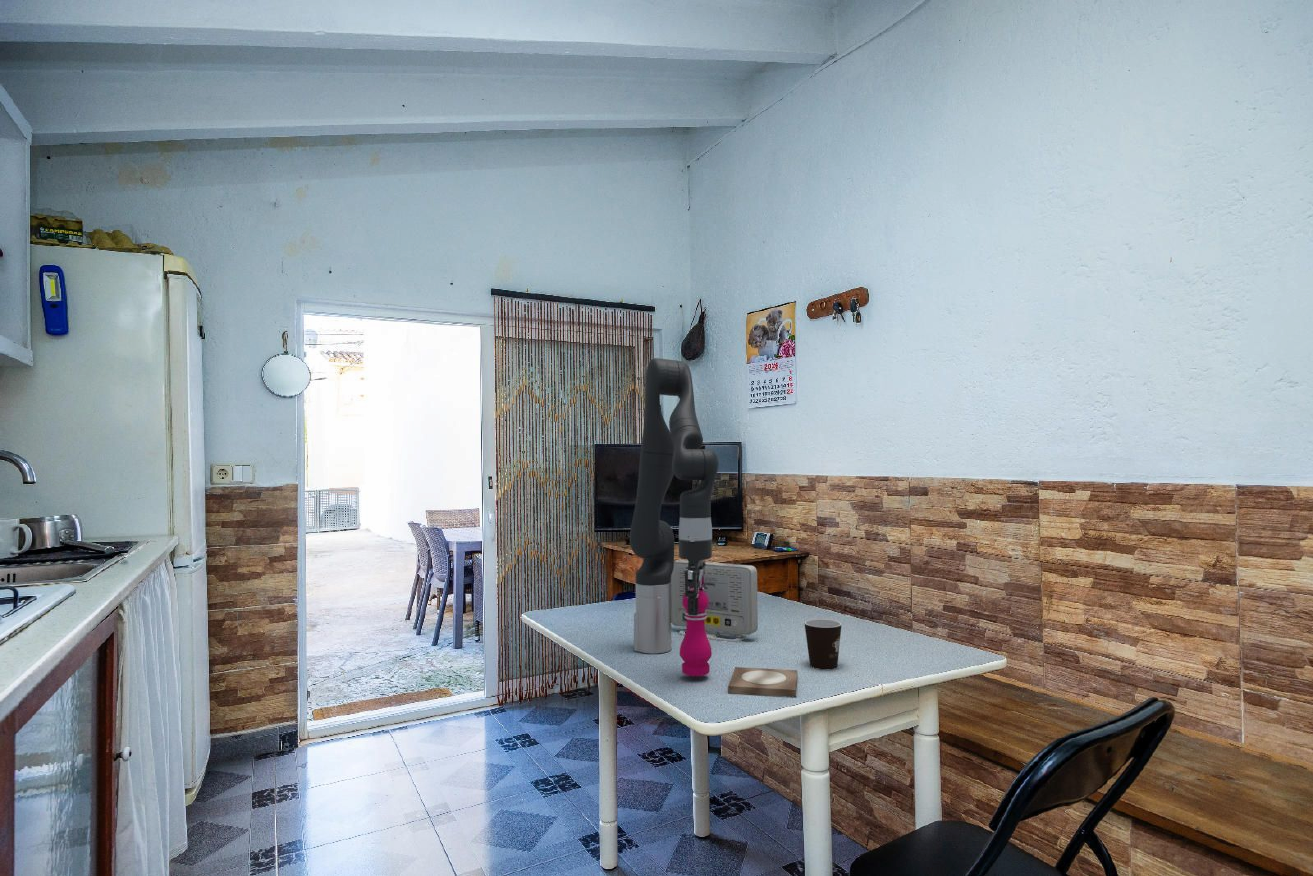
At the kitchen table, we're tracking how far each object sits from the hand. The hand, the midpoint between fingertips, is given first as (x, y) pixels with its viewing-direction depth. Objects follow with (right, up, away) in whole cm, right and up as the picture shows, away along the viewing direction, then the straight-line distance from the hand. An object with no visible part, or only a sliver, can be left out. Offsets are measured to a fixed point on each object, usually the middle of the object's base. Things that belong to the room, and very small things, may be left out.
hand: (695, 611), depth 162 cm
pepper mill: (0, -14, 0) cm, 14 cm away
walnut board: (+15, -15, -6) cm, 21 cm away
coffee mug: (+32, -15, +9) cm, 37 cm away
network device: (+7, -16, +38) cm, 42 cm away
